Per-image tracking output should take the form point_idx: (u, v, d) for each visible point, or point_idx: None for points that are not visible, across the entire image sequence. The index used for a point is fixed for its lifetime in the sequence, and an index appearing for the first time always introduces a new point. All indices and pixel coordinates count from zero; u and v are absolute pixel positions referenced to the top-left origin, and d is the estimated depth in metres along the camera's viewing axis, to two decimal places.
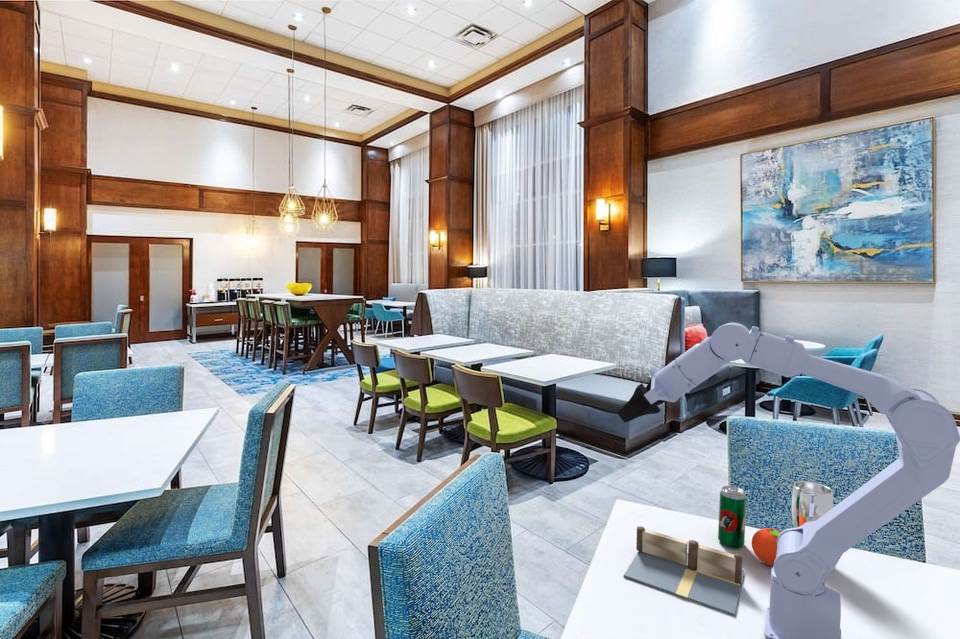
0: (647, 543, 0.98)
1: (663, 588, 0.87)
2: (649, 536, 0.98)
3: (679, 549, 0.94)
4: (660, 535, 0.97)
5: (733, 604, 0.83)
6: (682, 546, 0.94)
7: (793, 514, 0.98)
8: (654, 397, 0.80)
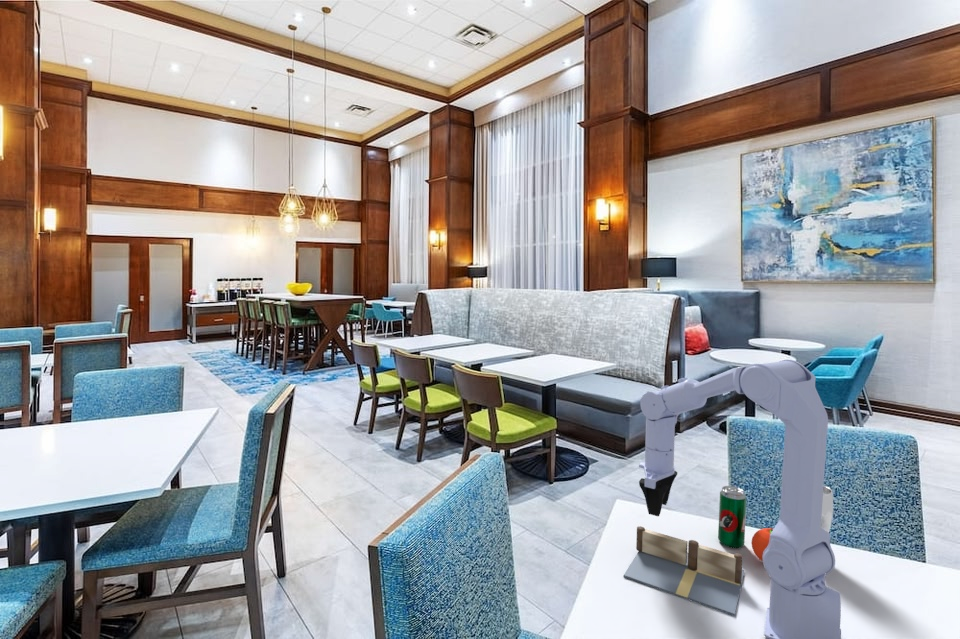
0: (647, 543, 0.98)
1: (663, 588, 0.87)
2: (649, 536, 0.98)
3: (679, 549, 0.94)
4: (660, 535, 0.97)
5: (733, 604, 0.83)
6: (682, 546, 0.94)
7: None
8: (651, 482, 0.94)
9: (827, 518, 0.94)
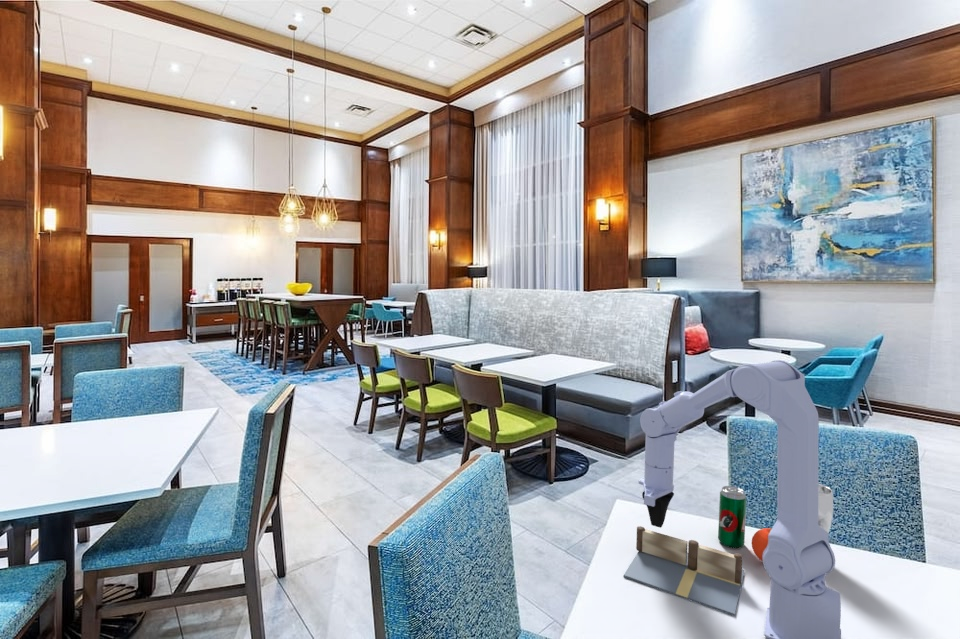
0: (647, 543, 0.98)
1: (663, 588, 0.87)
2: (649, 536, 0.98)
3: (679, 549, 0.94)
4: (660, 535, 0.97)
5: (733, 604, 0.83)
6: (682, 546, 0.94)
7: None
8: (650, 500, 0.95)
9: (827, 518, 0.94)
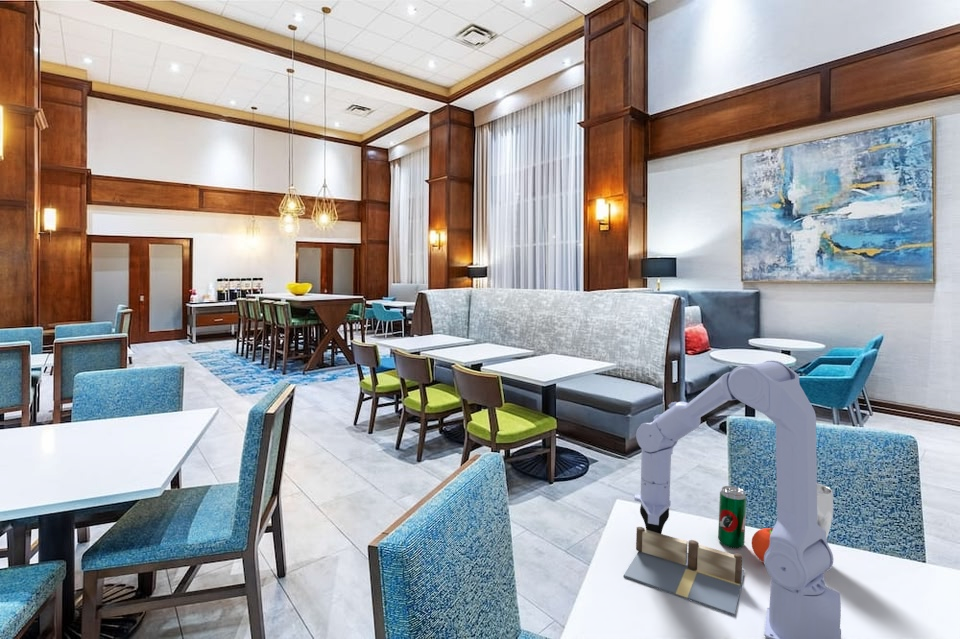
0: (647, 543, 0.98)
1: (663, 588, 0.87)
2: (649, 536, 0.97)
3: (679, 549, 0.94)
4: (660, 535, 0.97)
5: (733, 604, 0.83)
6: (682, 546, 0.94)
7: None
8: (655, 518, 0.92)
9: (827, 518, 0.94)
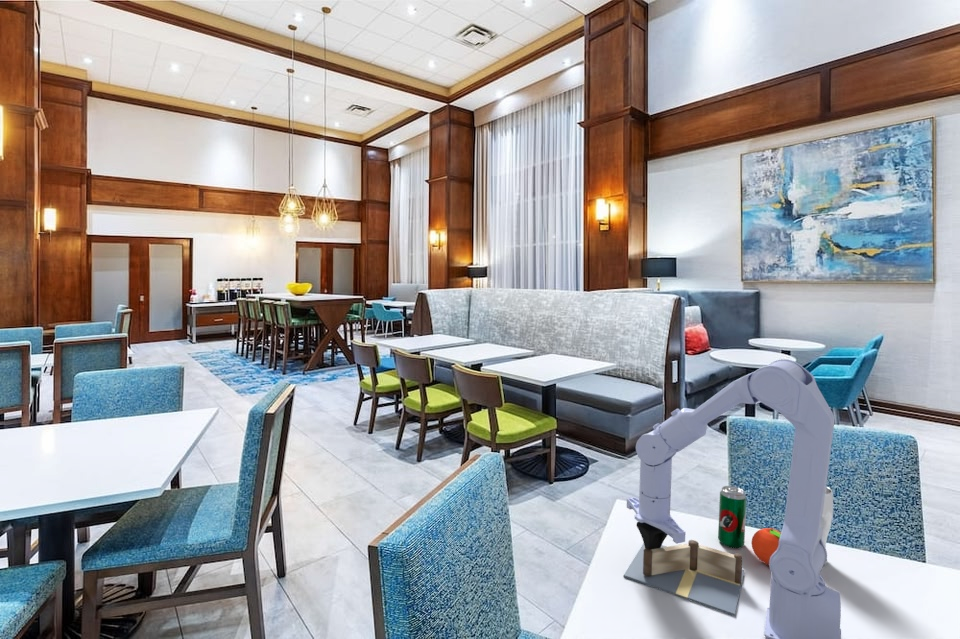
0: (656, 564, 0.91)
1: (663, 588, 0.87)
2: (658, 555, 0.91)
3: (684, 555, 0.92)
4: (666, 549, 0.92)
5: (733, 604, 0.83)
6: (687, 551, 0.92)
7: None
8: (682, 535, 0.86)
9: (827, 518, 0.94)
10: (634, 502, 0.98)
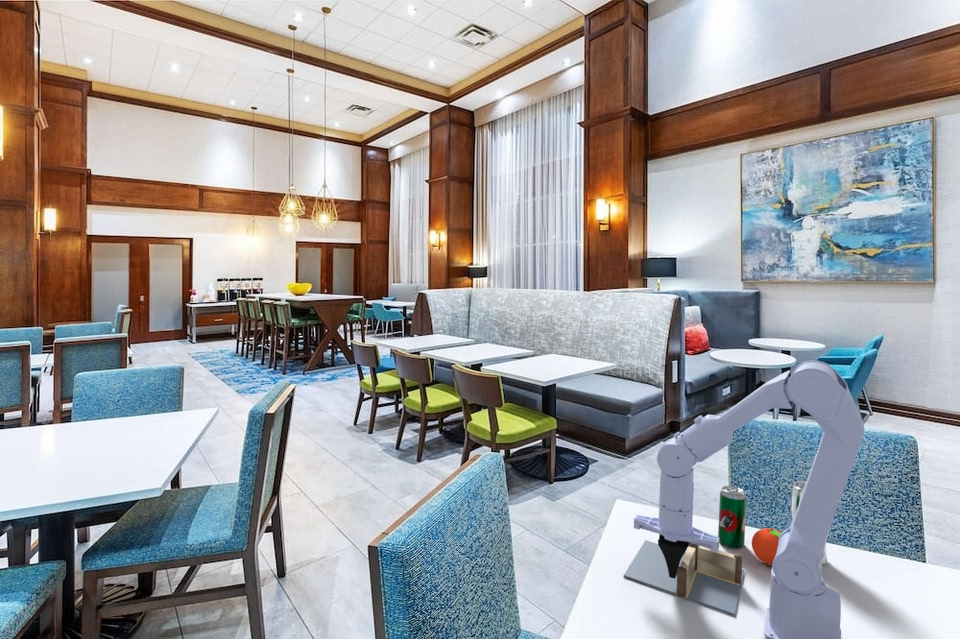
0: (687, 579, 0.86)
1: (663, 588, 0.87)
2: (687, 569, 0.86)
3: (693, 558, 0.91)
4: (687, 560, 0.88)
5: (733, 604, 0.83)
6: (694, 553, 0.91)
7: (793, 514, 0.98)
8: (718, 542, 0.83)
9: None
10: (643, 520, 0.90)
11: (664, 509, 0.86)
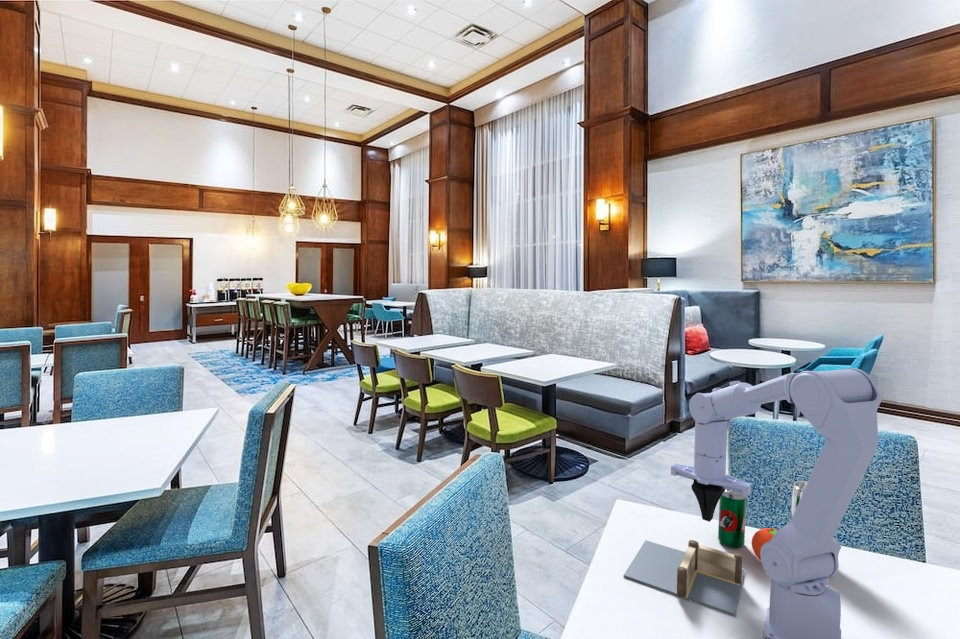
0: (687, 579, 0.86)
1: (663, 588, 0.87)
2: (687, 569, 0.86)
3: (694, 558, 0.91)
4: (688, 560, 0.88)
5: (733, 604, 0.83)
6: (694, 553, 0.91)
7: (793, 514, 0.98)
8: (750, 488, 0.89)
9: None
10: (679, 468, 0.98)
11: (698, 455, 0.93)
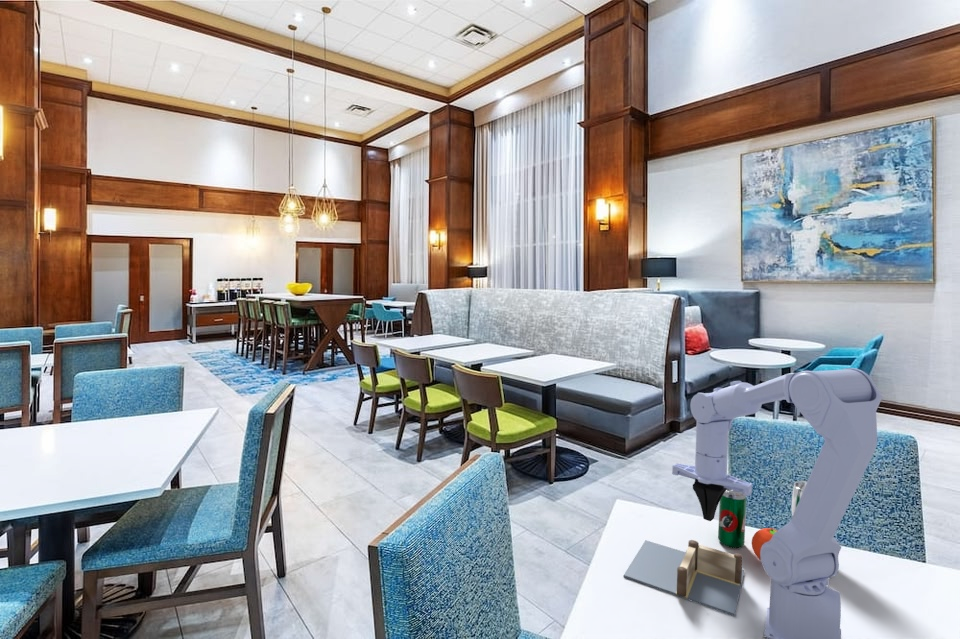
0: (687, 579, 0.86)
1: (663, 588, 0.87)
2: (687, 569, 0.86)
3: (694, 558, 0.91)
4: (688, 560, 0.88)
5: (733, 604, 0.83)
6: (694, 553, 0.91)
7: None
8: (751, 487, 0.90)
9: None
10: (681, 467, 0.98)
11: (699, 455, 0.93)
